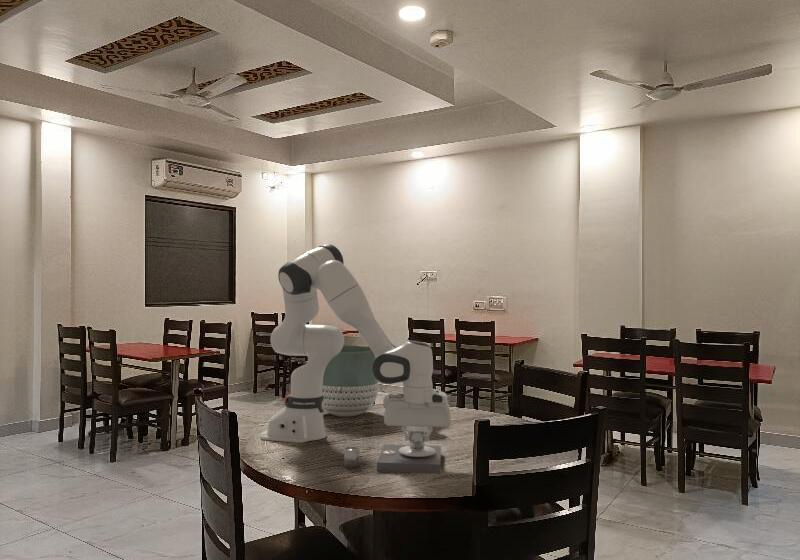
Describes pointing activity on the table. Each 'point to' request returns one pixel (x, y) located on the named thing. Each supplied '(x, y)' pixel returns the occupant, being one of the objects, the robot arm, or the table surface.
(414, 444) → the cylinder
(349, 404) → the planter
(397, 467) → the scale
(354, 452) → the spacer
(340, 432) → the table surface
